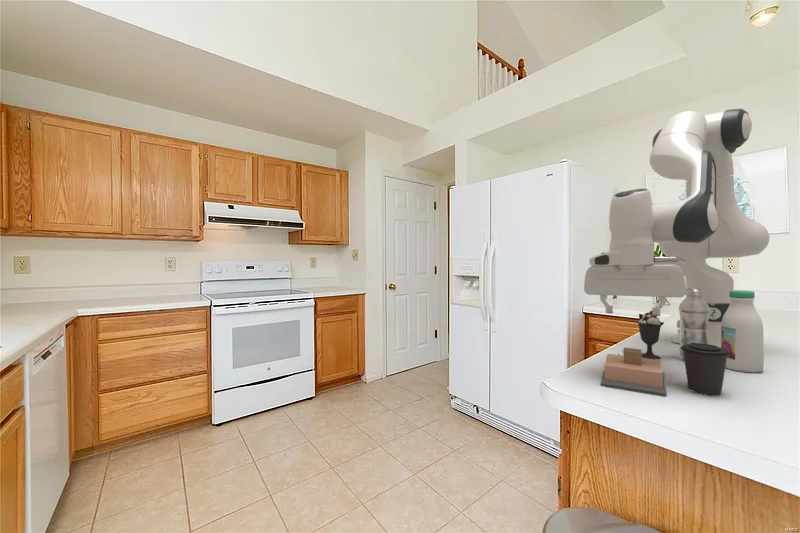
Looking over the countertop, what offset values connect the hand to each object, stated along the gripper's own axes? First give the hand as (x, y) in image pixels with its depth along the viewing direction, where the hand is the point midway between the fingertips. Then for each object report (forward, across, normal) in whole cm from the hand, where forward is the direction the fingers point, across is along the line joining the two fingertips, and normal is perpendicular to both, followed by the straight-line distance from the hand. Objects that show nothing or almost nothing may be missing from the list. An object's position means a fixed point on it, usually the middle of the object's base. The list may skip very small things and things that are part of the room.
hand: (632, 314), depth 83 cm
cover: (+12, 0, +1) cm, 12 cm away
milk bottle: (+16, -23, -21) cm, 35 cm away
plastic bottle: (+16, -14, -23) cm, 32 cm away
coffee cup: (+16, -13, +2) cm, 20 cm away
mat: (+15, 0, +1) cm, 16 cm away
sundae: (+16, -4, -22) cm, 28 cm away
